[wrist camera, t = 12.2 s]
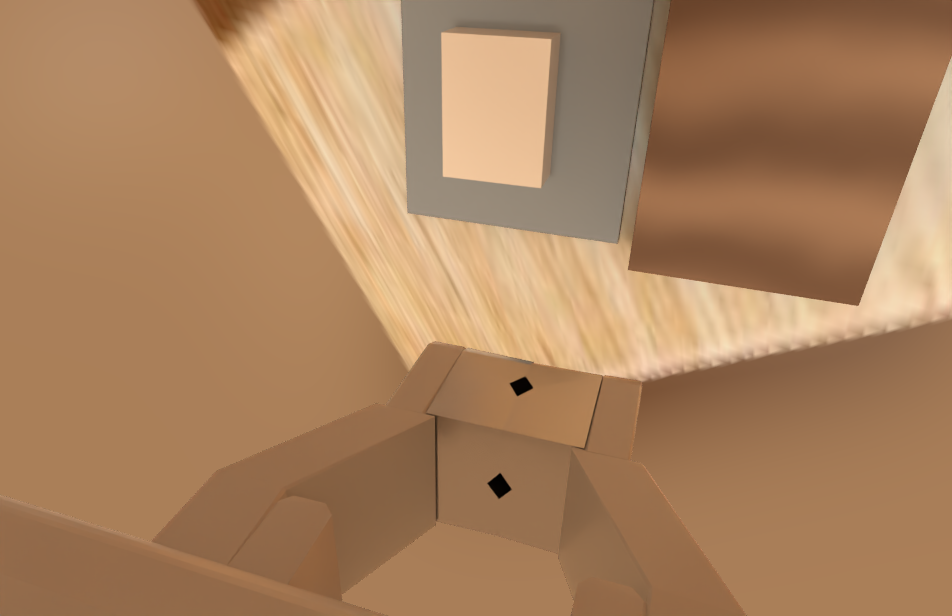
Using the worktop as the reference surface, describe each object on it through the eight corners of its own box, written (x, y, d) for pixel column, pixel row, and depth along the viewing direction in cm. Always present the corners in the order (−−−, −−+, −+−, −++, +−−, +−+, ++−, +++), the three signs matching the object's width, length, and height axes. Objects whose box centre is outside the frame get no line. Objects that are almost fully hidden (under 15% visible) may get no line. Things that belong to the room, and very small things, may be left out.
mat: (404, -41, 37) (399, -40, 36) (658, -29, 33) (657, -29, 33) (410, 209, 44) (407, 213, 44) (618, 240, 41) (617, 243, 40)
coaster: (551, 39, 33) (560, 32, 35) (441, 32, 35) (456, 26, 37) (541, 188, 37) (550, 174, 39) (442, 176, 39) (456, 164, 41)
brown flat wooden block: (682, -51, 32) (678, -49, 29) (955, -42, 29) (986, -38, 26) (634, 242, 41) (627, 269, 37) (845, 273, 38) (858, 305, 34)
